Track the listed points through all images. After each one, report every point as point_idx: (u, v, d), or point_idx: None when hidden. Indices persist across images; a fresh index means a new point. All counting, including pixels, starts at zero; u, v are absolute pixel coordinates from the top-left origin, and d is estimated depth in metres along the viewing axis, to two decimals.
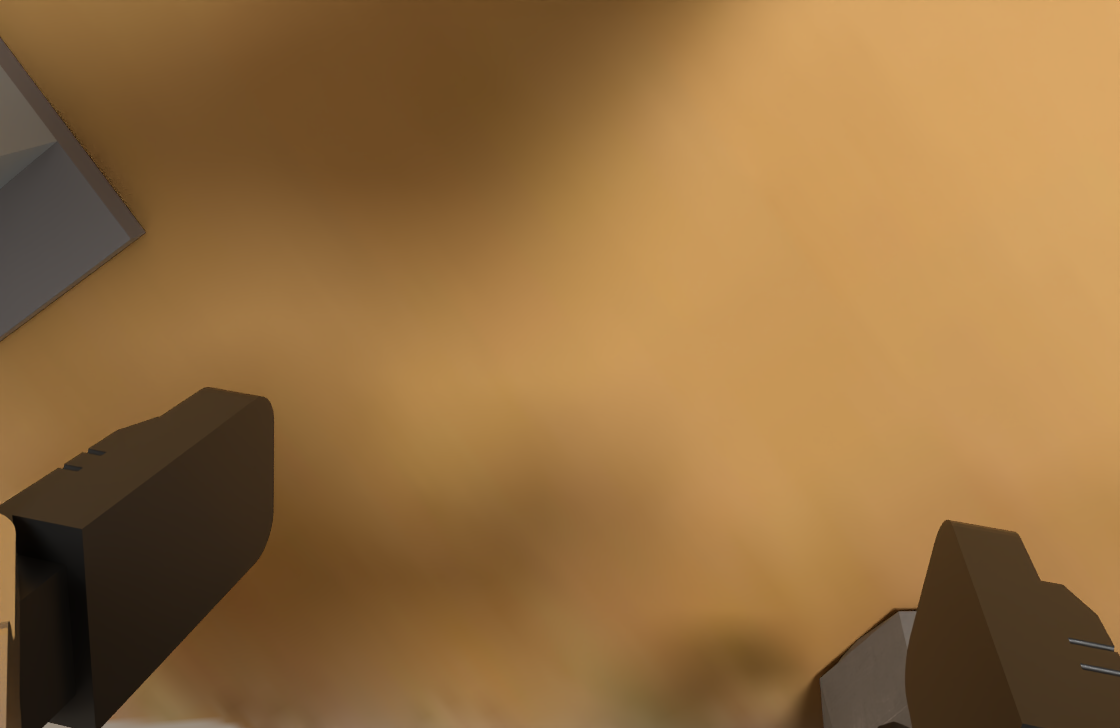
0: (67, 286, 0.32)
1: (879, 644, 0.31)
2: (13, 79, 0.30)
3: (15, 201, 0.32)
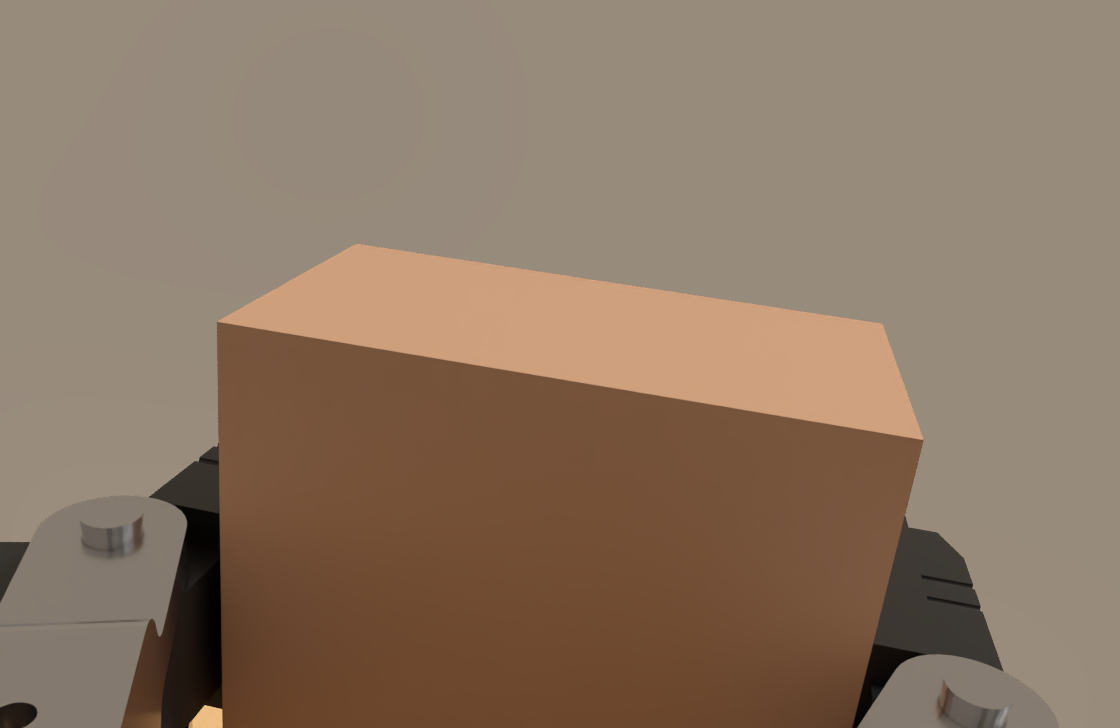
0: None
1: None
2: None
3: None
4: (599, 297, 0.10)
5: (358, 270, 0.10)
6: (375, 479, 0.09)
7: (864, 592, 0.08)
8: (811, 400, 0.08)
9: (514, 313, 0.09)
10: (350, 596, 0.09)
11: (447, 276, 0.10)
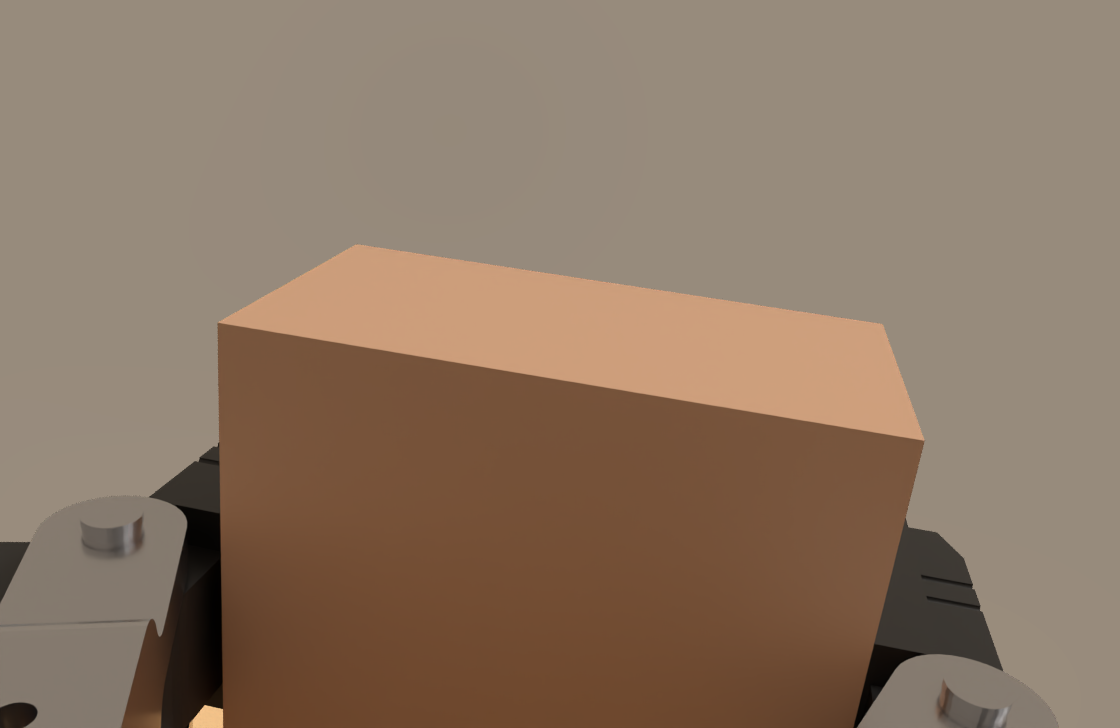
0: None
1: None
2: None
3: None
4: (599, 298, 0.10)
5: (357, 270, 0.10)
6: (376, 480, 0.08)
7: (865, 593, 0.08)
8: (811, 402, 0.08)
9: (514, 314, 0.09)
10: (352, 597, 0.09)
11: (447, 277, 0.10)
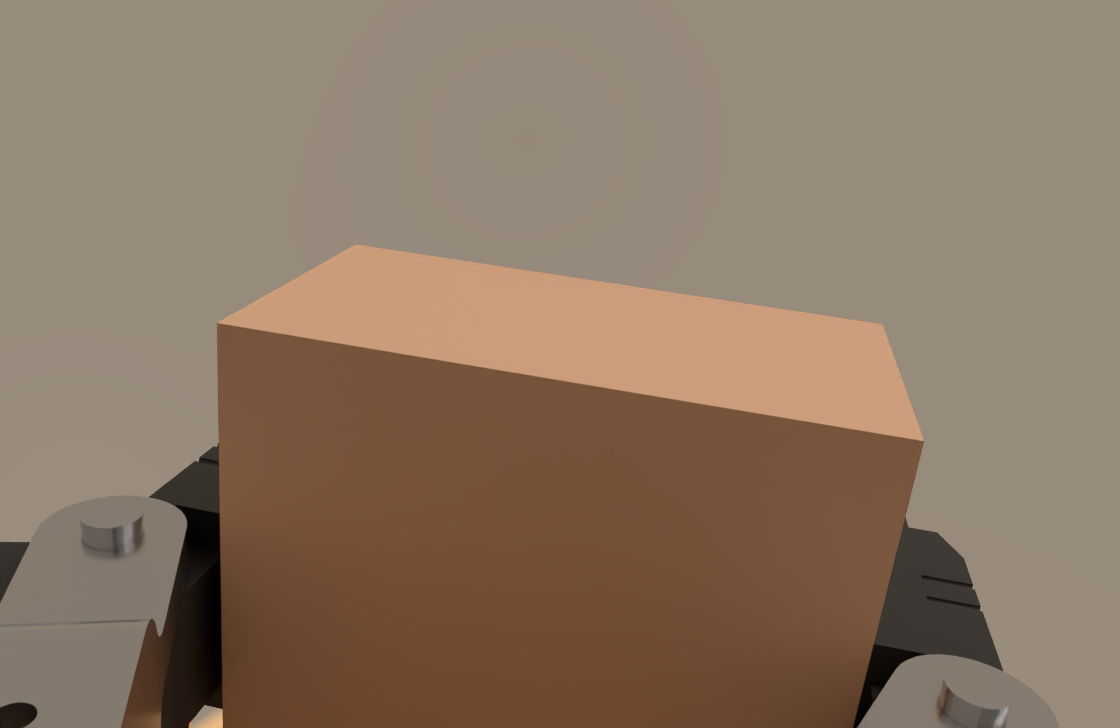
0: None
1: None
2: None
3: None
4: (599, 298, 0.10)
5: (357, 270, 0.10)
6: (375, 481, 0.08)
7: (865, 593, 0.08)
8: (811, 402, 0.08)
9: (514, 314, 0.09)
10: (351, 596, 0.09)
11: (447, 277, 0.10)
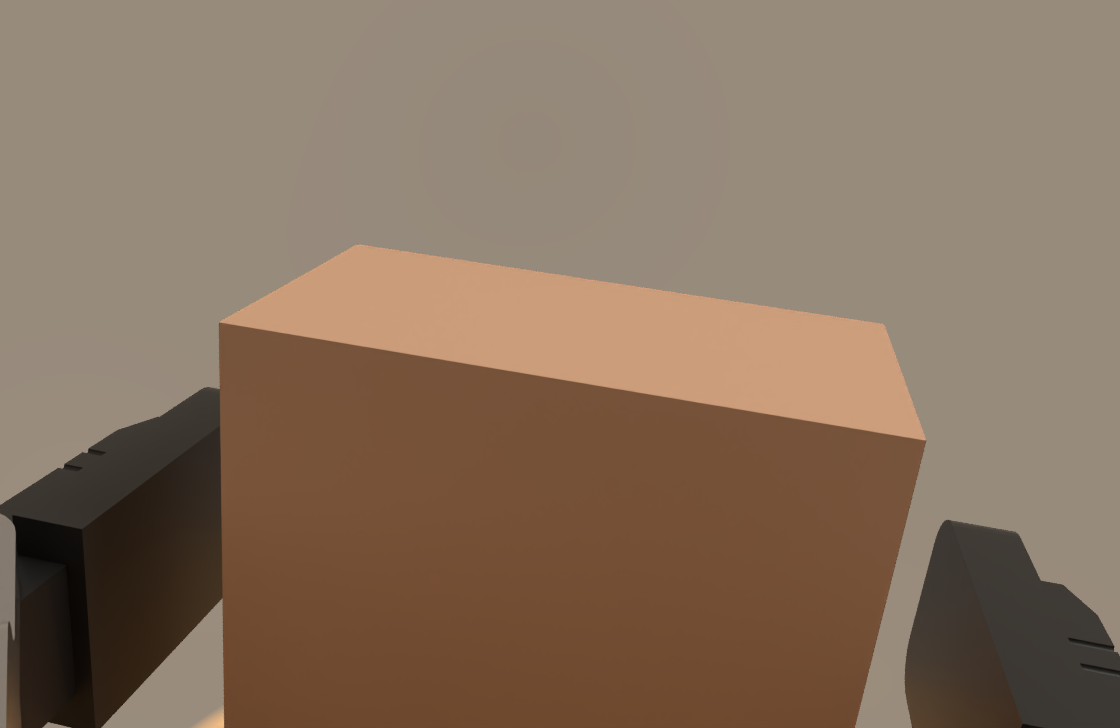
0: None
1: None
2: None
3: None
4: (600, 298, 0.10)
5: (358, 270, 0.10)
6: (377, 480, 0.08)
7: (866, 592, 0.08)
8: (813, 400, 0.08)
9: (516, 313, 0.09)
10: (352, 596, 0.09)
11: (448, 276, 0.10)
